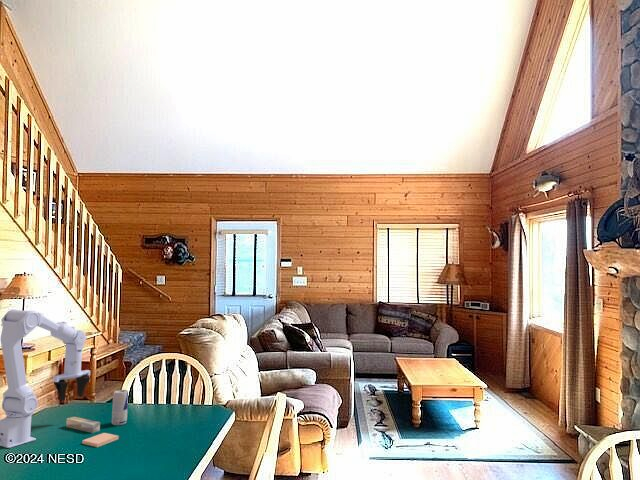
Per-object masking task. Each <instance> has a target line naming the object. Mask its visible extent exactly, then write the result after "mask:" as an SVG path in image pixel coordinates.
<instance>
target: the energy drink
mask: <svg viewBox="0 0 640 480" xmlns="http://www.w3.org/2000/svg"><path fill="white" fill-rule="evenodd" d="M128 402H129V392H128V390H127V389H118V390H114V391H113V393H112V411H111V425H113V426H122V425H125V424H126V423H127V421H128V407H129V406H128V405H129V404H128Z"/></svg>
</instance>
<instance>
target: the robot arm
mask: <svg viewBox="0 0 640 480" xmlns="http://www.w3.org/2000/svg"><path fill="white" fill-rule="evenodd" d="M1 326H2V329H1V332H0V333H1V334H0V344H1V351H2V359H3V364H4V370H5V376H6V383H7V384H6V385H7V389H6V390H4V392H3V393H2V403H1V408H2V410H3V411H4V412H5V414H4V415H5V417H3V418H1V419H0V447H4V448H6V449H7V448H8V449H10V448H14V447H17V446H20V445H23V444H26V443H27V444H28V443H30V442H34V441H36V440H37V438H35V437H32V436H31V429H32V416H33V414H34V412H35V411H36V409H37V408H38V404H39V401H38V398H37V396H36V395H35V391H34V389H32V388H31V387H30V386H29V385H28V380H27V375H26V369H25V361H24V355H23V349H22V340H23V338H25V337H26V336H27V335H28V334H30V333H31V332H32V331H33V330H34V329H36V327H38V328H41V329H43V330H46V331H48V332H50V336H51V337H52V338H53V337H54V338H55V339H58V340H60V341H61V342H62V343H63V344H64V345H65V351H64V352H65V353H64V354H65V356H64V357H65V358H64V370H63V372H64V373H61V374H58V375H55V376H53V377H52V380H53V381H52V382H53V385H54V387H55V389H56V390H57V394H58V397H59V401H65V400H66V394H67V388H68V385H69V382H68V381H66V380H72V379H75V380H76V385H77V386H76V387H77V389H76V395H77V396H79V397H83V395H84V392H85V390H86V387H87V385H88V383H89V382H90V380H91V370H89V369H85V370H82V358H83V357H82V355H83V349H84V347H85V343H86V342H87V337H88V336H87V335H86V333H85V332H84V331H83V330H78V329H76V327H75V326H70V325H69V324H68V323H67V322H66V321H59V322H55V321H53V320H52V319H50V318H48V317H46V316H45V315H43V314H42V313H41V312H37V311H36V310H22V309H21V310H20V309H9V310H8V311H7V312H6V313H5V314H4V315H3V317H2V318H1Z"/></svg>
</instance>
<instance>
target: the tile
mask: <svg viewBox="0 0 640 480" xmlns="http://www.w3.org/2000/svg"><path fill="white" fill-rule="evenodd" d="M119 437H120V436H119V435H117V434H112V433H108V432H101V433H99V434H97V435H93V436H91V437H88V438H86V439H82V441H81V443H82V445H87V446H91V447H93V448H94V447H95V448H99V447H102V446H105V445H106V444H109V443H112V442H115V441H117V440H119Z"/></svg>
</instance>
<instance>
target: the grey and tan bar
mask: <svg viewBox="0 0 640 480" xmlns="http://www.w3.org/2000/svg"><path fill="white" fill-rule="evenodd" d="M65 427H66V428H69V429H75V430H78V431H83V432H88V433H91V434H94V433H97V432H100V430H101V422H100V421H95V420H91V419H87V418H83V417H78V416H71V417H67V418H66V425H65Z"/></svg>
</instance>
